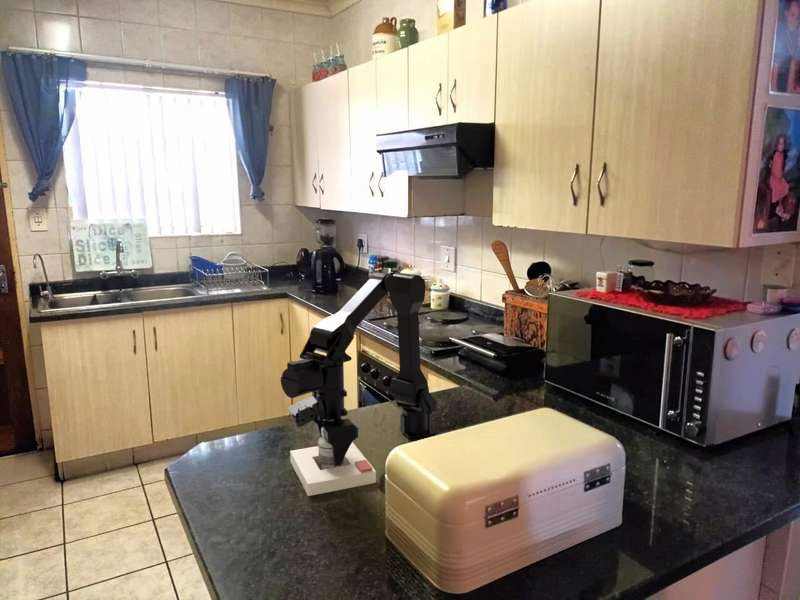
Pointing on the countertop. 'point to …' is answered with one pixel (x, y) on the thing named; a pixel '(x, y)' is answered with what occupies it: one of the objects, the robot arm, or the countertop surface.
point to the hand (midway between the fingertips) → (331, 456)
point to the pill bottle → (326, 454)
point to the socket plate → (331, 471)
